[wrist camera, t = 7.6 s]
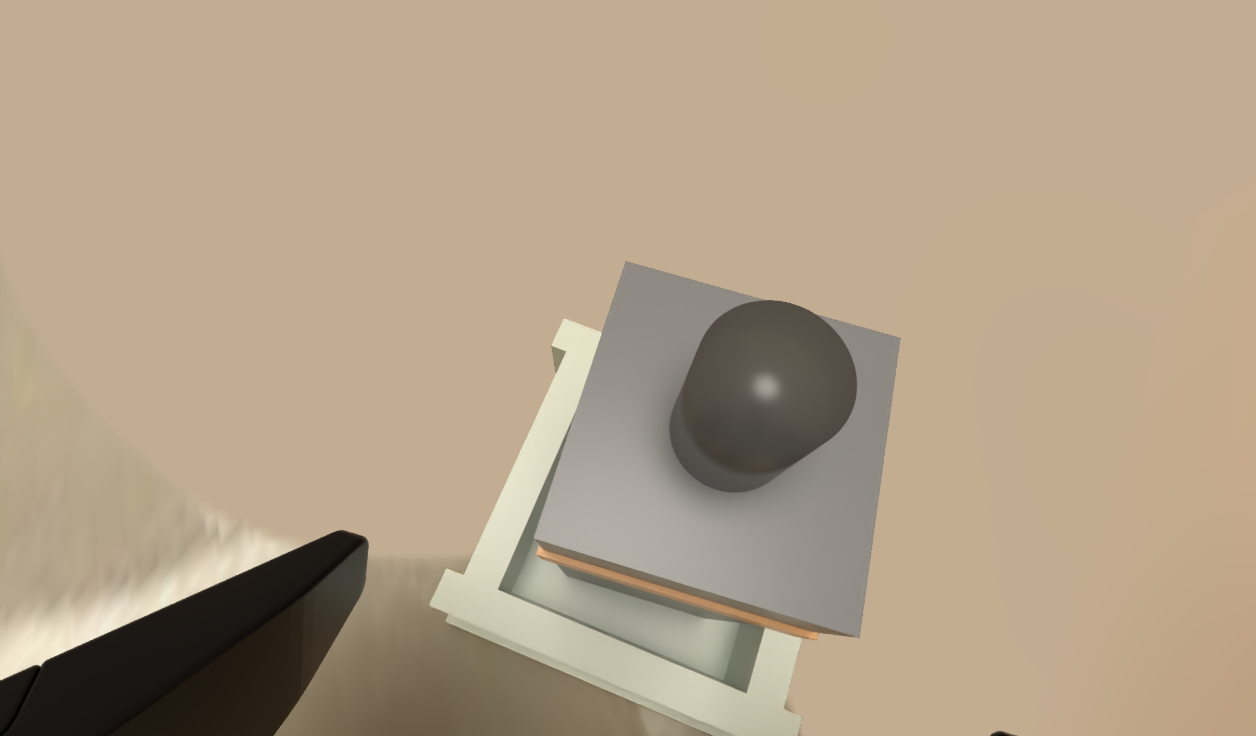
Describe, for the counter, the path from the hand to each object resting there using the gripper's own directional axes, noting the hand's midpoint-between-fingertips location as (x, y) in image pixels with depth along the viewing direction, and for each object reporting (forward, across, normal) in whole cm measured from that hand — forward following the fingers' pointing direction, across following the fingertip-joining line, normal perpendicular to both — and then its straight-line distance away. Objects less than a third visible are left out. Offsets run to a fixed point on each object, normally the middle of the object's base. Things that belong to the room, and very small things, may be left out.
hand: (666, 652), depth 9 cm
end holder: (+11, 0, +6) cm, 12 cm away
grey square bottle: (+10, 0, +6) cm, 12 cm away
